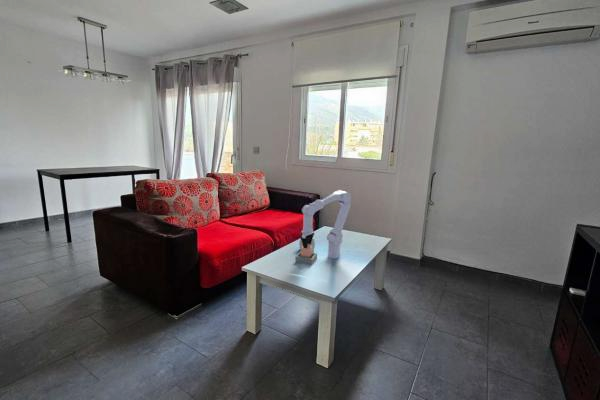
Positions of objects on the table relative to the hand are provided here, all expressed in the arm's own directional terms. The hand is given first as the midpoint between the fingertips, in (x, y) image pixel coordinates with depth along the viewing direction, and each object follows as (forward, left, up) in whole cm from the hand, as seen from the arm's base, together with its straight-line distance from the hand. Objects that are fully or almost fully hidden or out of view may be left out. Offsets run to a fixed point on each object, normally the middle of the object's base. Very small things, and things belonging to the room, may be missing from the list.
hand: (307, 245), depth 174 cm
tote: (0, 0, -10) cm, 10 cm away
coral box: (0, 0, -6) cm, 6 cm away
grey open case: (-19, -6, -11) cm, 23 cm away
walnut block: (0, 0, -10) cm, 10 cm away
